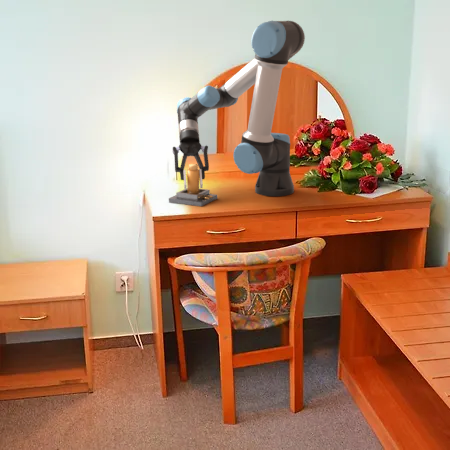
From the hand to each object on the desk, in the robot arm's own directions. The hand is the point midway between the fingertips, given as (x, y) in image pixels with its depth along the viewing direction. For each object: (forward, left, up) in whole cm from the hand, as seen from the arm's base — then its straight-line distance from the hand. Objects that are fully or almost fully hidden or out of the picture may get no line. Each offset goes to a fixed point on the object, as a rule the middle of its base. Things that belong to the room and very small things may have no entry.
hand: (193, 186), depth 243 cm
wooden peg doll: (+2, -3, -5) cm, 6 cm away
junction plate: (+2, -3, -6) cm, 7 cm away
